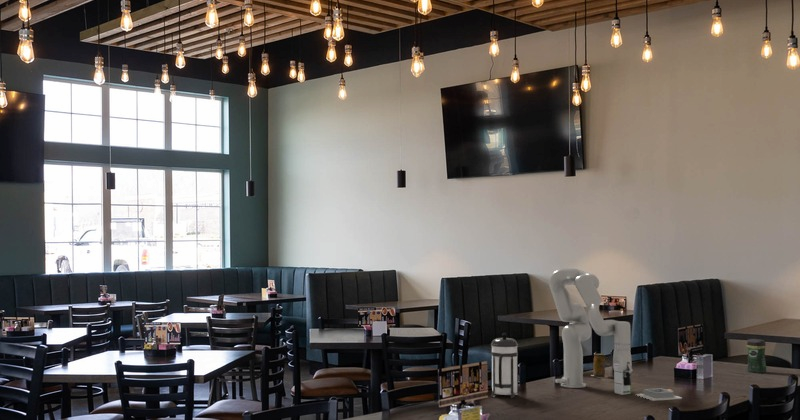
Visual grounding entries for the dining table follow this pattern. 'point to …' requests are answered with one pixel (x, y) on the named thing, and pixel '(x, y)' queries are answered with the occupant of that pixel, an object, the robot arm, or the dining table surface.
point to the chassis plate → (658, 394)
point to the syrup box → (620, 382)
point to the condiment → (599, 366)
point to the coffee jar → (756, 355)
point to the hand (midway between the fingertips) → (622, 383)
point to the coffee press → (504, 366)
